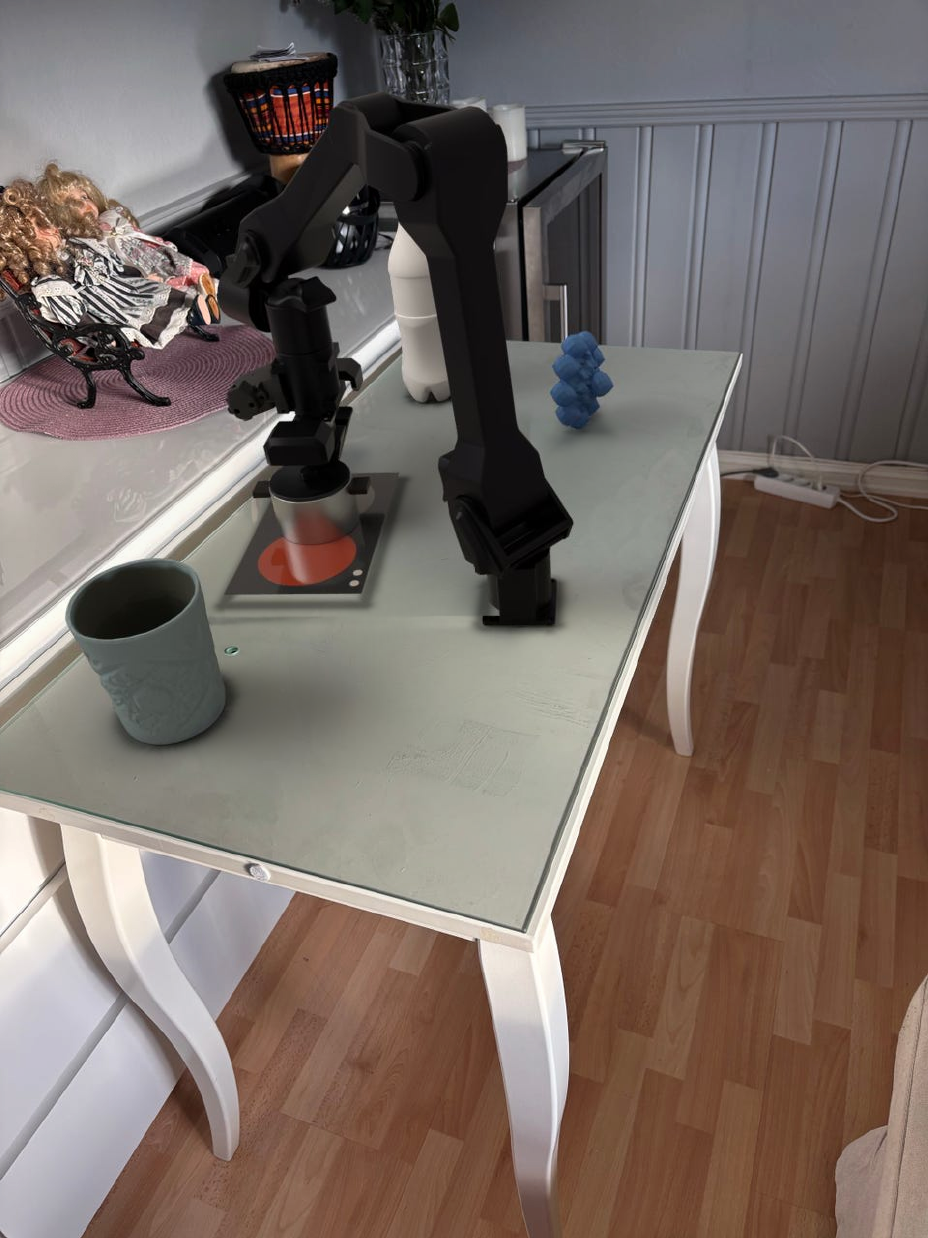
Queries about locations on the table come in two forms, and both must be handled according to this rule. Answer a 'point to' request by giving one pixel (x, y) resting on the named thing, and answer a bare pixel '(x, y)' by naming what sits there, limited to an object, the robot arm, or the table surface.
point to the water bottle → (417, 320)
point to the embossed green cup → (151, 647)
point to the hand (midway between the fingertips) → (330, 479)
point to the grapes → (579, 380)
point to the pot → (314, 501)
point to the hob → (315, 552)
